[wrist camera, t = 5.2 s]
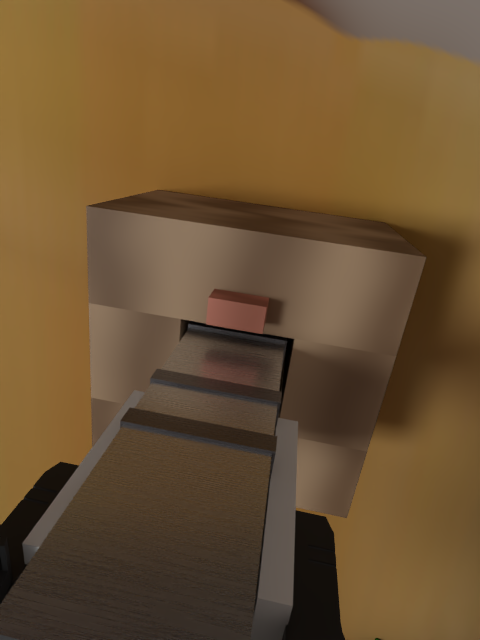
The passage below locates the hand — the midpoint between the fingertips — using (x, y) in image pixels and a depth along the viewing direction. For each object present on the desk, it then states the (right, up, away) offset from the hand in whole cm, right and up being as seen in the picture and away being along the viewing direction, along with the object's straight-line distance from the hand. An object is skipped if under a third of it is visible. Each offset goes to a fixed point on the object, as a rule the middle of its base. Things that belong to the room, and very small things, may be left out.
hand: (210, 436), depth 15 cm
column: (+2, +4, +11) cm, 12 cm away
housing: (+2, +5, +12) cm, 13 cm away
